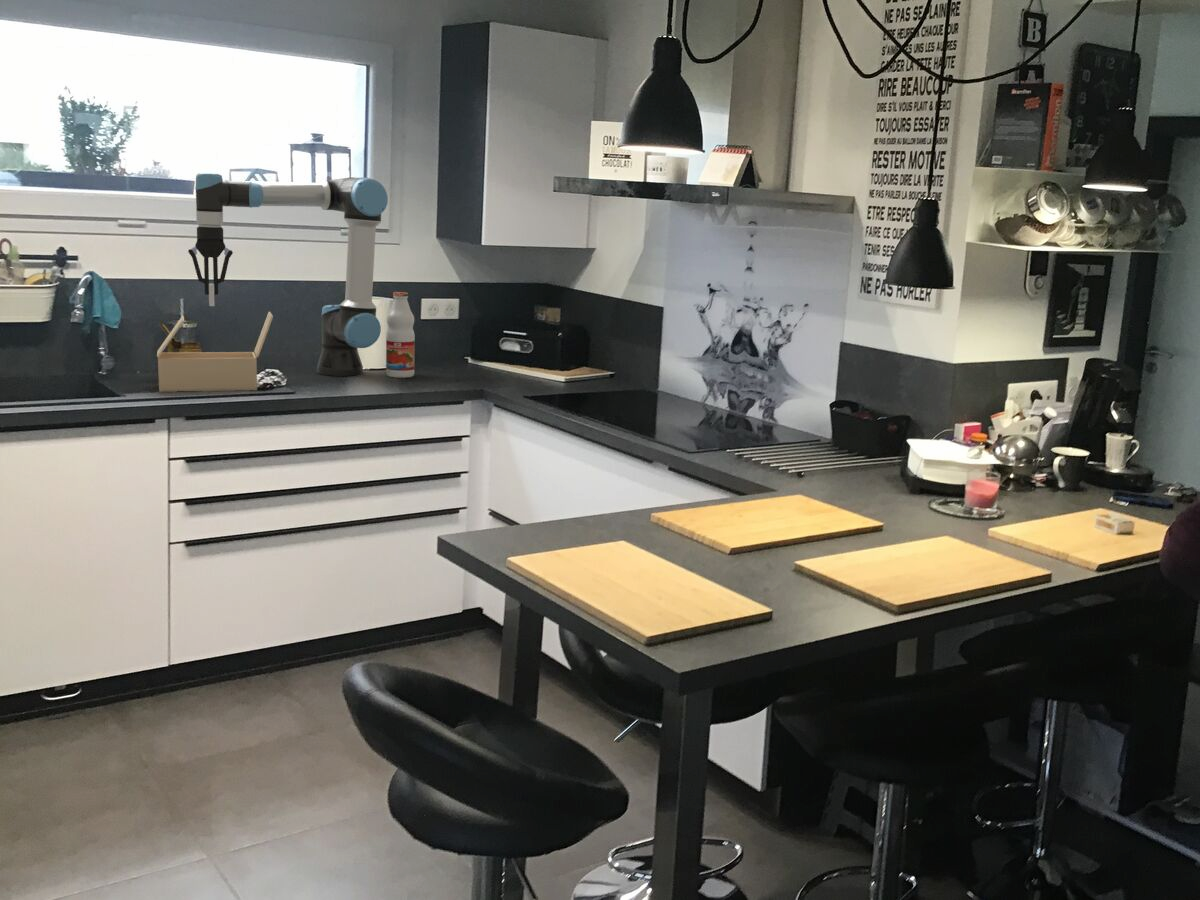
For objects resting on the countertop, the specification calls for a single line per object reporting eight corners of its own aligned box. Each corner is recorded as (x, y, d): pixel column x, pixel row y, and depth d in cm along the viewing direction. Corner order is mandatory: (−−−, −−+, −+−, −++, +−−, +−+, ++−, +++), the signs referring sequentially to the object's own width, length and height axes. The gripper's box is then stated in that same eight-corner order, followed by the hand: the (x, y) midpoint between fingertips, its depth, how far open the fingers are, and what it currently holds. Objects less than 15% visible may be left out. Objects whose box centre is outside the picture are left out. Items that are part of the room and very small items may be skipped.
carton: (254, 383, 371) (253, 352, 369) (257, 390, 359) (256, 358, 357) (159, 385, 362) (158, 352, 360) (159, 392, 350) (157, 358, 348)
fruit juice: (417, 374, 402) (418, 292, 396) (409, 378, 393) (410, 294, 387) (391, 373, 403) (391, 290, 397) (382, 377, 394) (382, 292, 388)
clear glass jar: (162, 376, 378) (160, 320, 374) (206, 376, 382) (204, 320, 378) (159, 380, 370) (157, 323, 366) (205, 380, 373) (203, 323, 369)
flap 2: (254, 351, 369) (255, 351, 369) (256, 356, 357) (258, 357, 358) (268, 311, 368) (270, 312, 368) (271, 316, 356) (273, 316, 356)
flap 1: (158, 357, 348) (156, 356, 348) (158, 351, 360) (157, 350, 359) (184, 321, 348) (182, 320, 348) (183, 316, 360) (182, 315, 360)
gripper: (232, 226, 356) (233, 304, 361) (186, 224, 352) (188, 304, 357) (233, 227, 350) (234, 307, 355) (186, 225, 345) (189, 306, 350)
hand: (211, 305), depth 356 cm, fingers closed
